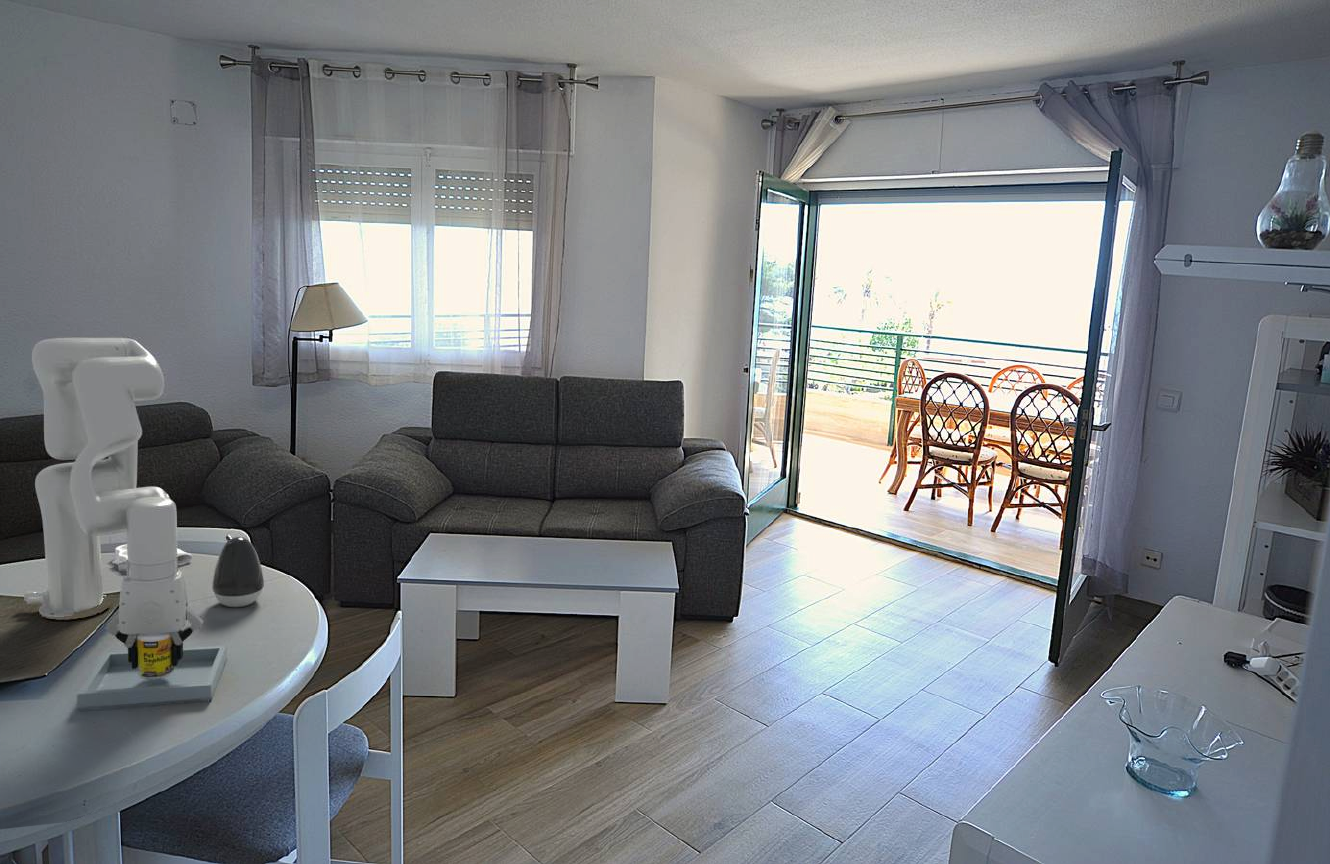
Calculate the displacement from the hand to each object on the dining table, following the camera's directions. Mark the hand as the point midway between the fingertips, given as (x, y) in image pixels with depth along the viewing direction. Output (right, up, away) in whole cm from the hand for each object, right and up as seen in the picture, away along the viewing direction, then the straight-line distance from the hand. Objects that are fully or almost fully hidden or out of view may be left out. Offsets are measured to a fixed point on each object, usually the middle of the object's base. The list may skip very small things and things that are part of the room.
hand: (156, 663), depth 154 cm
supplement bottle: (0, -2, 0) cm, 2 cm away
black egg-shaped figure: (-4, +3, +38) cm, 38 cm away
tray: (0, -4, +1) cm, 4 cm away
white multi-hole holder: (-35, +9, +56) cm, 67 cm away
